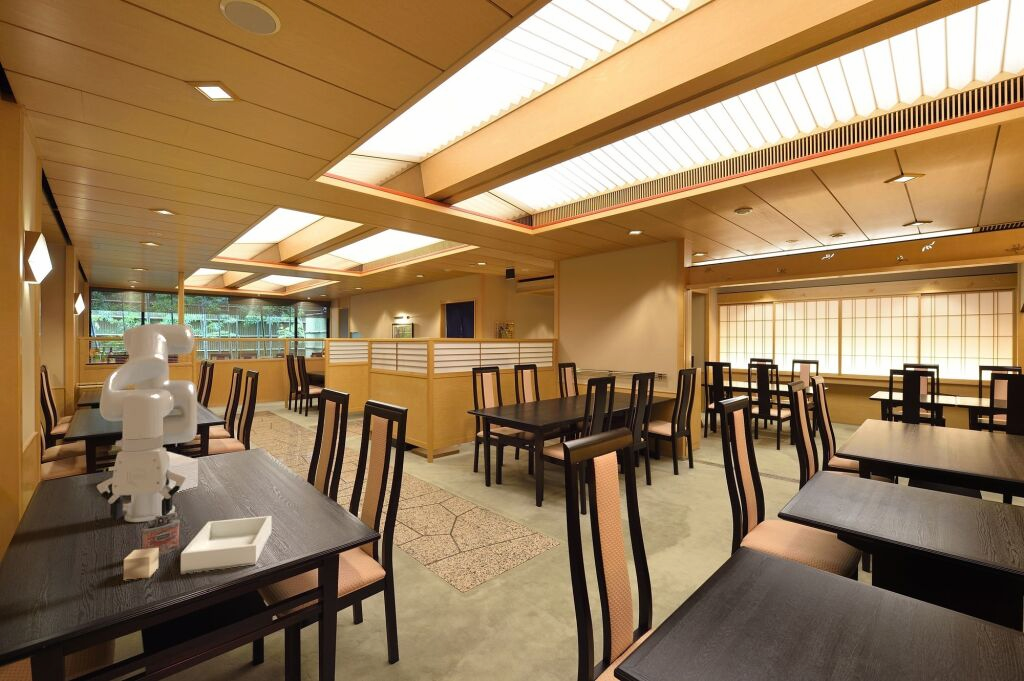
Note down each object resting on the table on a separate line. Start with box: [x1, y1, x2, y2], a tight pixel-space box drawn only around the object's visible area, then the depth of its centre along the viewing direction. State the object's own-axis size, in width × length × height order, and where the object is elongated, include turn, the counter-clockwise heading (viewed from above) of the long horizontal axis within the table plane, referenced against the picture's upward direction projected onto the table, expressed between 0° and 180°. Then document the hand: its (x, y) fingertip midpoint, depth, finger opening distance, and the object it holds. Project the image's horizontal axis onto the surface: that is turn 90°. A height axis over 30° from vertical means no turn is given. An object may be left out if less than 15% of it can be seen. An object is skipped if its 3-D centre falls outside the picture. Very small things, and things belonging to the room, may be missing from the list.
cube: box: [123, 548, 160, 581], centre depth 110 cm, size 5×5×5 cm
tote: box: [180, 515, 273, 575], centre depth 121 cm, size 16×20×5 cm
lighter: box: [141, 511, 181, 557], centre depth 120 cm, size 8×3×10 cm, turn 143°
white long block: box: [166, 450, 199, 493], centre depth 176 cm, size 32×11×11 cm, turn 60°
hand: (142, 516), depth 109 cm, fingers open, 9 cm apart
